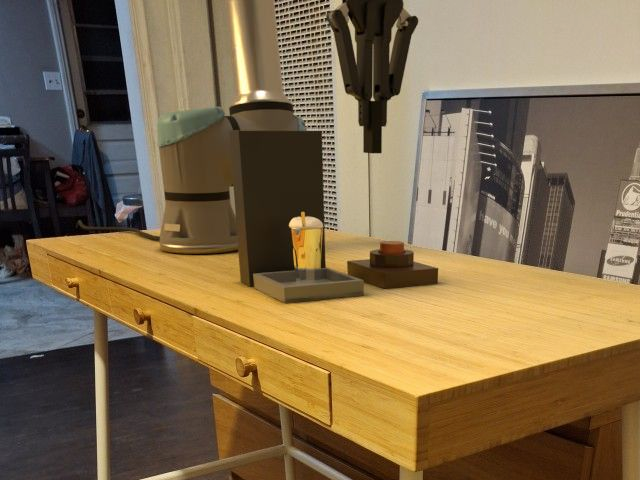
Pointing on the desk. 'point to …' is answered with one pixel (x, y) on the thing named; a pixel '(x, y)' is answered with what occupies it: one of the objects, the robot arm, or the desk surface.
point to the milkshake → (306, 248)
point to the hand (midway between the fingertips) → (372, 152)
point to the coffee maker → (280, 212)
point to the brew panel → (392, 270)
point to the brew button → (392, 247)
